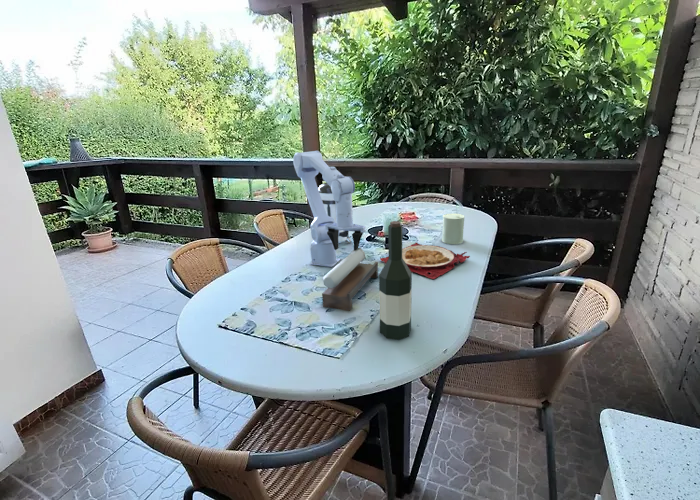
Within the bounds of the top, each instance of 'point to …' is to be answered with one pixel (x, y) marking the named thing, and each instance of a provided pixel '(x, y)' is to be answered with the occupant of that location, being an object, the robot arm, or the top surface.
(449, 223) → the can
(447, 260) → the plate with food
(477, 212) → the top surface
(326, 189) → the coffee press
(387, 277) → the wine bottle
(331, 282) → the tube
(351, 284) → the wooden display stand
